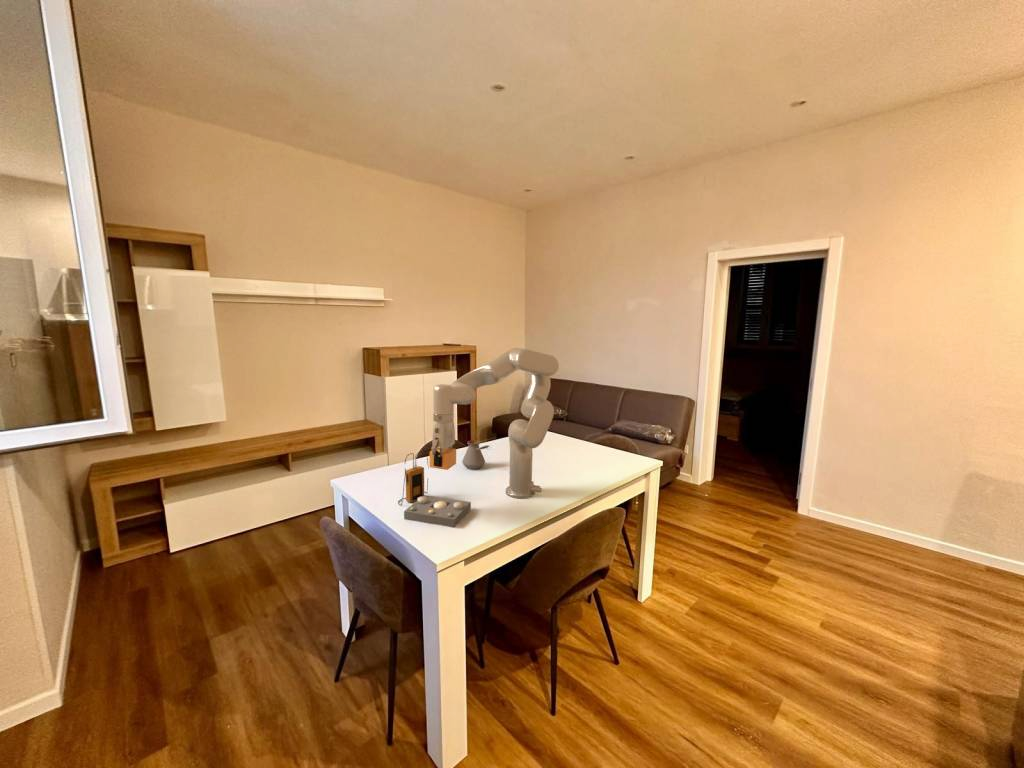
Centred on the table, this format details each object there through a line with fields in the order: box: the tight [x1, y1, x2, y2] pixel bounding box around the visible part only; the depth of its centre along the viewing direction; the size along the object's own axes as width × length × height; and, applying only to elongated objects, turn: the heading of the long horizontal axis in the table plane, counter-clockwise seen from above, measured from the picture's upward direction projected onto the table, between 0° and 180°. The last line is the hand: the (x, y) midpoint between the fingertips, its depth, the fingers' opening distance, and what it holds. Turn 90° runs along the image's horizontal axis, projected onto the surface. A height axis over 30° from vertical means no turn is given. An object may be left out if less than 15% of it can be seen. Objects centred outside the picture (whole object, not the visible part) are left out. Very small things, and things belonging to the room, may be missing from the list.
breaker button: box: [434, 501, 447, 509], centre depth 153 cm, size 5×5×3 cm
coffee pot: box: [461, 439, 491, 470], centre depth 198 cm, size 21×12×15 cm, turn 33°
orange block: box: [429, 447, 457, 471], centre depth 154 cm, size 7×7×6 cm
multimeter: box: [397, 450, 429, 506], centre depth 165 cm, size 15×10×20 cm
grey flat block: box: [403, 494, 472, 528], centre depth 151 cm, size 20×15×4 cm
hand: (443, 462), depth 154 cm, fingers closed on orange block, 7 cm apart
